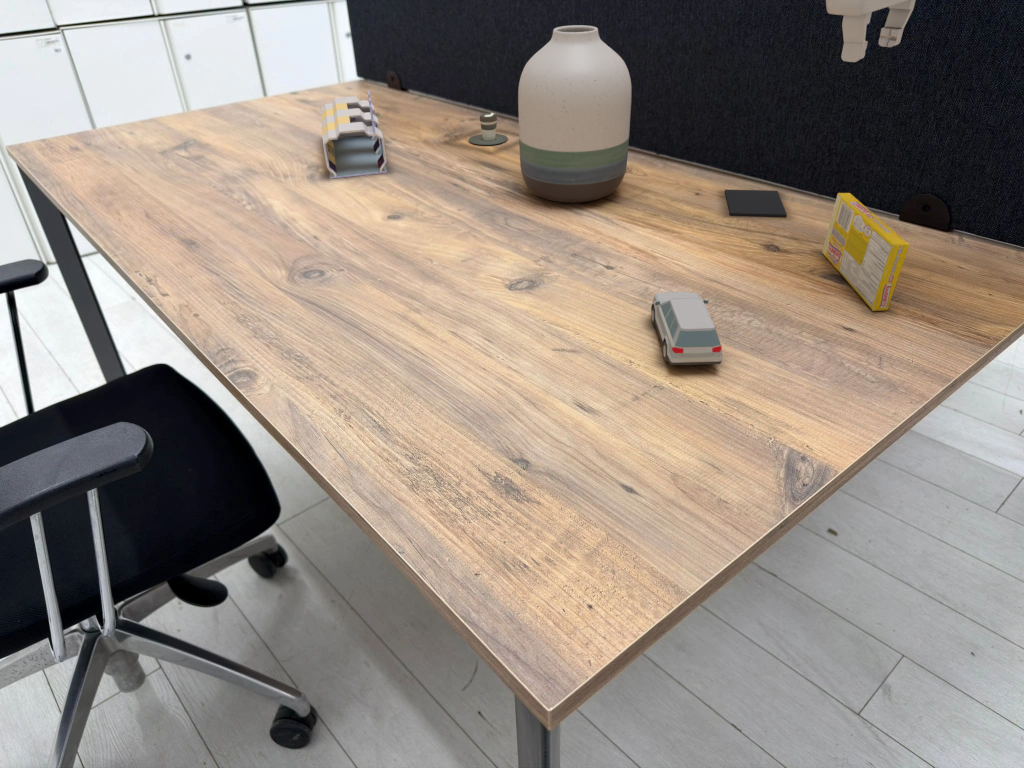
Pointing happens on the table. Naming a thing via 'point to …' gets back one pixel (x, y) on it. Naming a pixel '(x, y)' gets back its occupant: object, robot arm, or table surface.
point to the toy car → (685, 329)
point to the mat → (755, 203)
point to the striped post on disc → (488, 131)
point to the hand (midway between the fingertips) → (870, 53)
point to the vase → (574, 117)
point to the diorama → (352, 138)
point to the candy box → (864, 251)
